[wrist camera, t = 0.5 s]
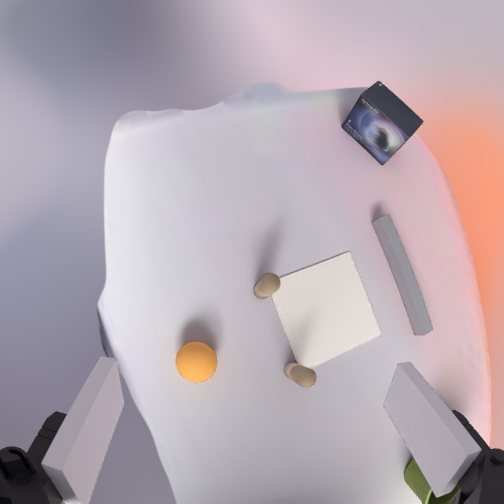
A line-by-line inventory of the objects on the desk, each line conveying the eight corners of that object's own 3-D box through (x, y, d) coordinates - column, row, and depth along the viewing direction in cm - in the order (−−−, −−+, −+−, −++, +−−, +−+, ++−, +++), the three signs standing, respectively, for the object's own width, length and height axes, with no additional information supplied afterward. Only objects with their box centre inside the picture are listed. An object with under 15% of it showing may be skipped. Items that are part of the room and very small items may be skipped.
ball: (223, 371, 43) (223, 377, 38) (186, 383, 43) (182, 391, 37) (209, 335, 44) (207, 336, 39) (172, 347, 44) (166, 350, 38)
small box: (338, 128, 55) (359, 93, 45) (357, 112, 56) (378, 78, 46) (381, 167, 54) (409, 138, 44) (398, 149, 55) (425, 120, 45)
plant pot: (380, 475, 41) (414, 501, 30) (429, 427, 44) (469, 441, 33) (408, 505, 40) (440, 529, 29) (452, 461, 42) (489, 476, 32)
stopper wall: (423, 330, 48) (433, 329, 45) (414, 335, 47) (424, 335, 44) (380, 219, 51) (389, 214, 48) (371, 223, 51) (379, 217, 48)
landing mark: (380, 334, 47) (381, 334, 47) (300, 372, 44) (300, 372, 44) (349, 251, 49) (349, 251, 49) (266, 283, 47) (266, 282, 47)
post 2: (302, 374, 44) (319, 382, 37) (287, 380, 44) (301, 390, 36) (297, 359, 45) (312, 365, 37) (281, 365, 44) (294, 373, 37)
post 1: (272, 295, 47) (283, 288, 39) (257, 301, 46) (264, 295, 38) (266, 280, 47) (276, 270, 39) (251, 285, 47) (257, 277, 39)
